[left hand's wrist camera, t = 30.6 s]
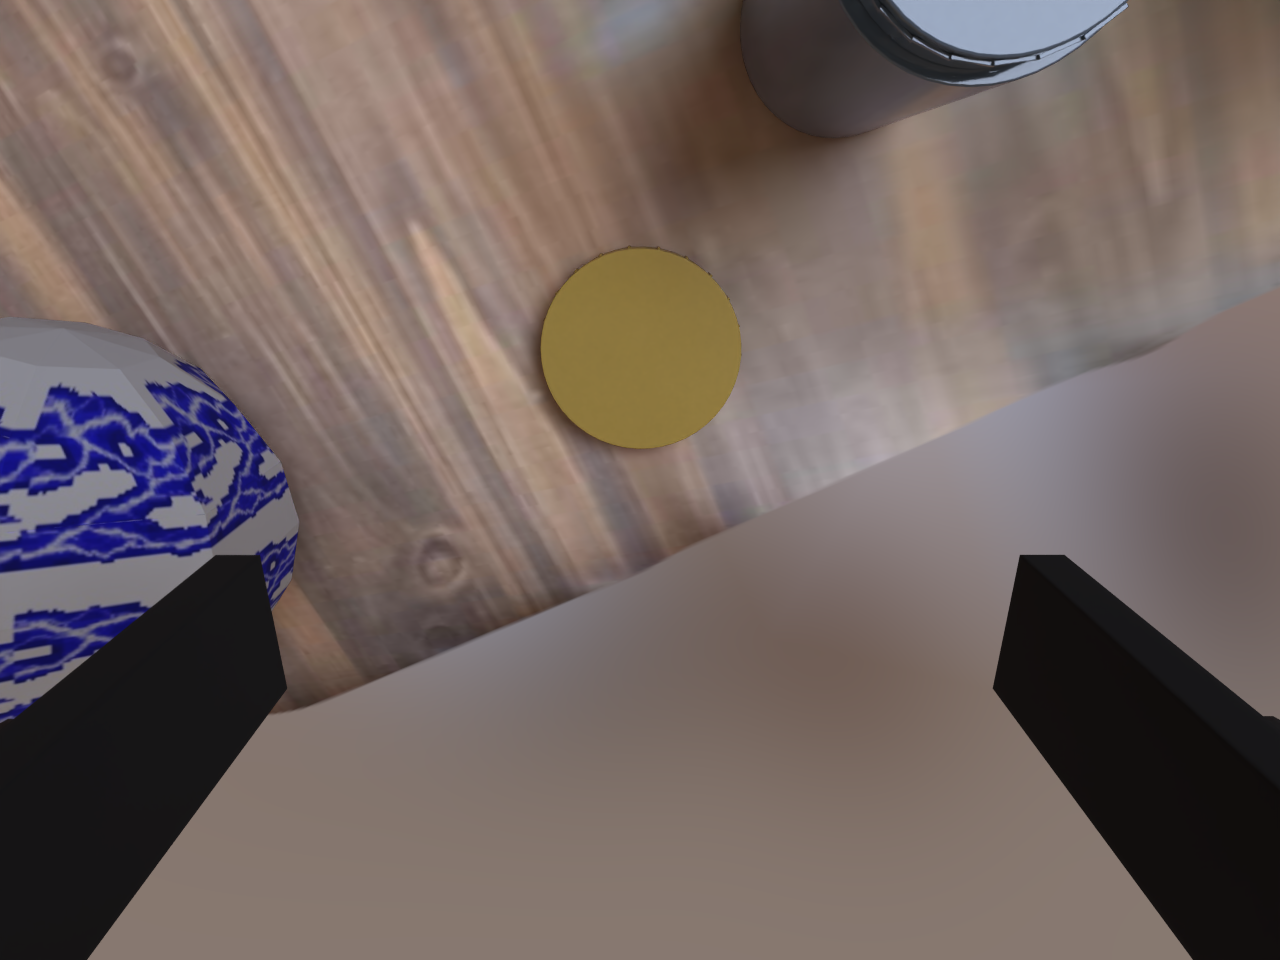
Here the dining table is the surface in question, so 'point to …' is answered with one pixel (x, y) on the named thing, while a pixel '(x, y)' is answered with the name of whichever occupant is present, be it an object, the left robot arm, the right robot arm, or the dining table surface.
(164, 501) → the ornament
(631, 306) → the lid
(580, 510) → the dining table surface
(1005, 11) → the jar
